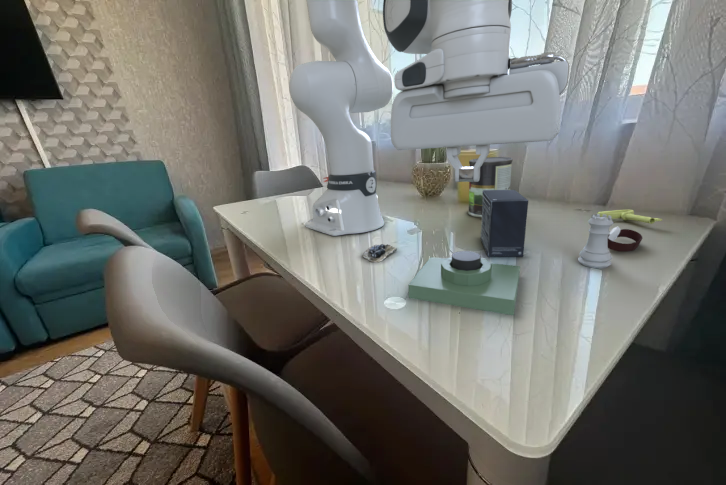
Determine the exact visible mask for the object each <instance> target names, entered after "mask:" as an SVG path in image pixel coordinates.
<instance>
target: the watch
mask: <svg viewBox="0 0 726 485" xmlns="http://www.w3.org/2000/svg"><path fill="white" fill-rule="evenodd" d="M609 231H610V233H609V234H608V249H609V250H612V251H614V252H633V251H635V250H637V248H638V247H639V246H640V244H641V242H642V240H643V235H642V234H641V233H640V232H638V231H636V230H634V229H628V228H620V227H619V226H614V227H613V228H611V229H610V230H609ZM617 238H627V239H630V240H633V241H634V242H631V243H621V242H617V241H615V240H616V239H617Z"/></svg>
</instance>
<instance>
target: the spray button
mask: <svg viewBox="0 0 726 485" xmlns="http://www.w3.org/2000/svg"><path fill="white" fill-rule="evenodd" d="M451 257H452V268H455V269H458V270H464V271H470V270H477V269H479V268H480V263H481V258H482V257H481V254H480V253H478V252H476V251H471V250H460V251H459V250H458V251H455V252H453V253H452V255H451Z"/></svg>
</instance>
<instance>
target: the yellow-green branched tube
mask: <svg viewBox="0 0 726 485" xmlns="http://www.w3.org/2000/svg"><path fill="white" fill-rule="evenodd" d="M596 214H600V217H603V214H605V215H607V217H606V218H608V216H609V215H610V216H611V217H612V218H611V220H612V219H613V220H615V219H616V220H617V219H622V220H623V221H629V220H630V221H636V222H641V223H646V224H650V225H652V224H654V223H656V222H662V221H663V218H659V217H650V216H644V215H639V214H635V210H633V209H616V210H615V209H614V210H605V211H598V212H597V213H596Z"/></svg>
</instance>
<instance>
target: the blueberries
mask: <svg viewBox="0 0 726 485" xmlns="http://www.w3.org/2000/svg"><path fill="white" fill-rule="evenodd" d="M397 250H398V249H397V247H395V246H394V247H393V245H391V244H383V243H381V244H374V245H373V246H370V247H368V248H367V249H366V250H365V251H364V252H363V253H362V257H363V259H365V260H367V261H368V262H370V263H380V262H383V261H384V260H385V259H387V258H388V257H387V256H390V254H393V253H394V252H396V251H397Z"/></svg>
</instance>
